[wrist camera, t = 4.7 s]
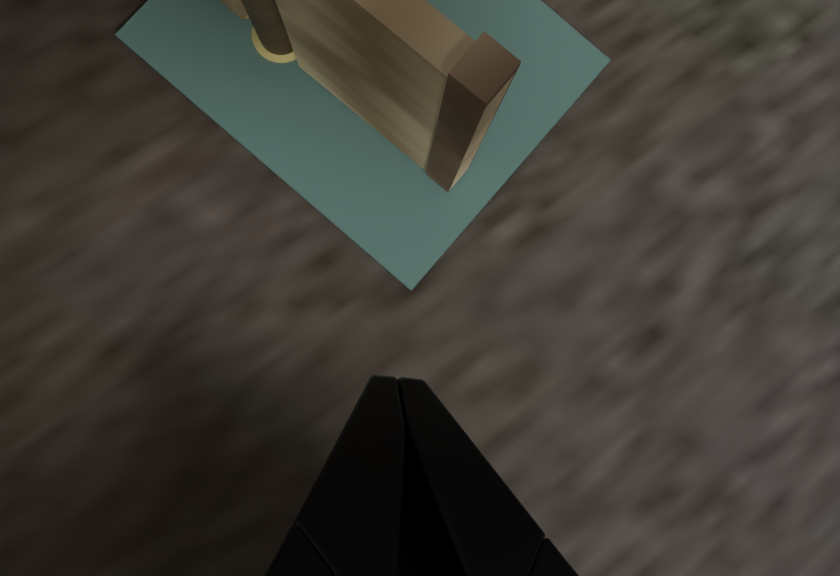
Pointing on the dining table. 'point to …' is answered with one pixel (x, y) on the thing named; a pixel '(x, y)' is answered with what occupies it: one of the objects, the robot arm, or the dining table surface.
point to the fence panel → (405, 74)
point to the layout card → (352, 136)
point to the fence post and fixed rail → (264, 23)
